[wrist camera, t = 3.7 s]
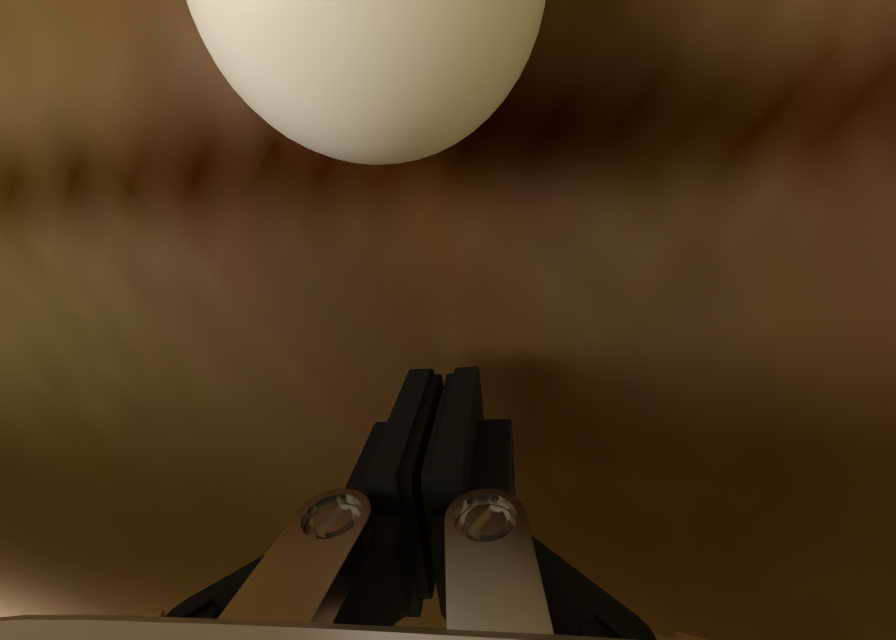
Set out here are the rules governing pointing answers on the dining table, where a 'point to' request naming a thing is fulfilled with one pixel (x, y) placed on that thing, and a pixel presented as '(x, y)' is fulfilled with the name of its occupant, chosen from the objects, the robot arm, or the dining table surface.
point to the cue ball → (371, 68)
